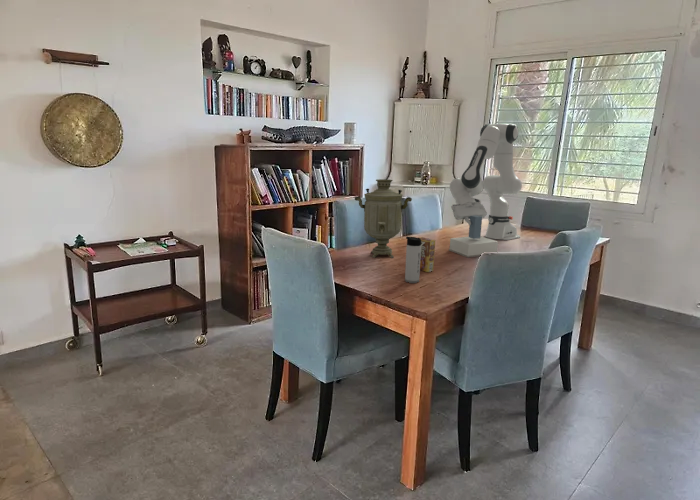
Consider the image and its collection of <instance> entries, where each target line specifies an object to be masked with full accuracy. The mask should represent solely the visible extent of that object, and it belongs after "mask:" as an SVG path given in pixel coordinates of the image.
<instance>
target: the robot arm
mask: <svg viewBox="0 0 700 500" xmlns="http://www.w3.org/2000/svg"><path fill="white" fill-rule="evenodd" d="M479 133H480V134H479V140H478V143H477V146H476V148H475V150H474V153H473V155H472V158H471V160H470V163H469V164H468V167H467V168H466V169H465V170H464V171H463V173H462V175H461V177H455V178H454V179H453V180H452V181H451V182H450V183H449V191H450V194H451V196H452V198H454V201H455V203H456V204H452V205H451V206H450V207H451V210H452V214H453V217H454V219H455V220H458V221H459V220H461V221H462V220H464V222H466V223H467V224H468V226H469V225H472V224H473V223H472V221H470V216H474V215H477V216H481V217H482V219H484V218H485V217H486V216H487V214H488V212H487V210H486V208H485V206H484V205H483V204H482V201H481V199H478V198H475V196H478V195H480V194H481V193H482V192H483V190H484V191H485V192H486V193H487V195H488V198H489V203H490V205H489V214H488V224H487V227H486V228H487V229H486V232H485V234H484V235H485V236H484V237H485V238H488V239H491V240H504V241H509V240H514V239H520V238H521V235H520V234H518V230H517V227H516V226H515V225H514V224H513V223H512V222H511V221H510V220H513V219H514V218H513V216H512V215H511V216H509V208H510V207H509V206H510V204H509V202H508V200H506V198H505V197H504V195H508V196H509V195H511V196H512V195H517V194H519V193H520V192H521V190H522V186H523V184H522V181H521V179H520V178H519V177H518V176H517V174H516V173H515V169H514V162H513V160H514V142H516V140H517V139H518V136H519V127H518V126H517V124H514V123H499V122H498V123H492V124H490V123H489V124H484V125H483V126H482V127H481V128H480V132H479ZM492 158H493V167H494V169H496V170H497V171H498V173H499V175H497V174H490V175H486V176H485V177H484V179H483V180H482V177H481V173H480V172H481V168H482V165H483V164H484V160H490V159H492Z"/></svg>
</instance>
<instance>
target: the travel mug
mask: <svg viewBox="0 0 700 500" xmlns="http://www.w3.org/2000/svg"><path fill="white" fill-rule="evenodd" d="M405 249H406V254H405V271H404V272H405V273H404V281H405V282H406V283H408V282H409V284H418V283H419V282H420V273H421V270H420V258H421V239H420V238H418V237H416V236H406V248H405ZM417 282H418V283H417Z"/></svg>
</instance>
